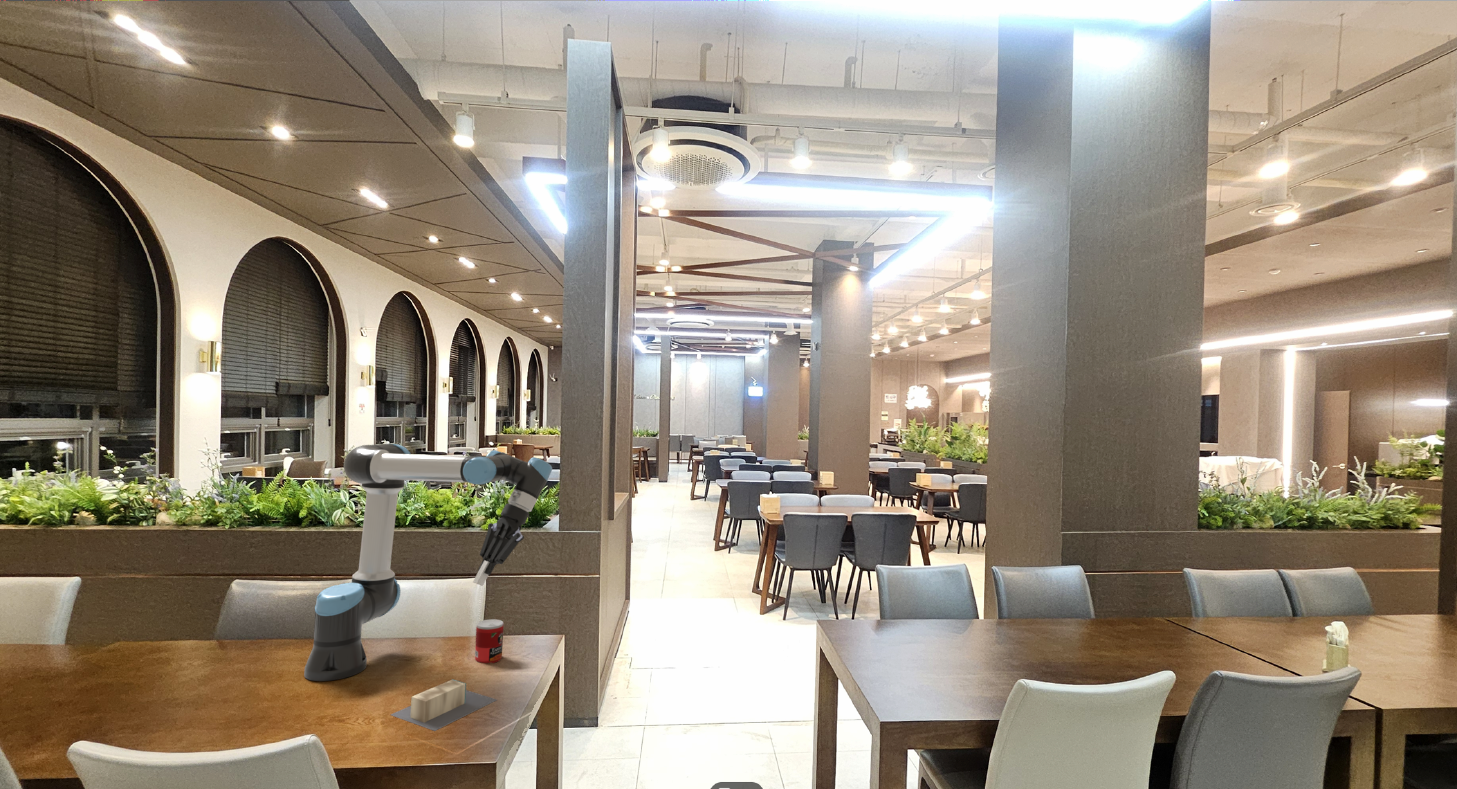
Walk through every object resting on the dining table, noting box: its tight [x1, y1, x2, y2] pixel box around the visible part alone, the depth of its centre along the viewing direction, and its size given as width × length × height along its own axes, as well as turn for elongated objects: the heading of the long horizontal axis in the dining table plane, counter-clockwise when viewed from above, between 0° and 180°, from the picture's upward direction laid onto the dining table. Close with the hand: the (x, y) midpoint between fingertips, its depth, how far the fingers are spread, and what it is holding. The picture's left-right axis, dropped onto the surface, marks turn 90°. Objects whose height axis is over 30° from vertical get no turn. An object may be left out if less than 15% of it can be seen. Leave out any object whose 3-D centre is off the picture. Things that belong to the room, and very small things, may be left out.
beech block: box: [410, 679, 467, 723], centre depth 156 cm, size 5×5×12 cm
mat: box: [390, 689, 498, 732], centre depth 157 cm, size 16×19×1 cm
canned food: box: [474, 618, 504, 664], centre depth 190 cm, size 8×8×11 cm
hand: (477, 584), depth 176 cm, fingers closed
